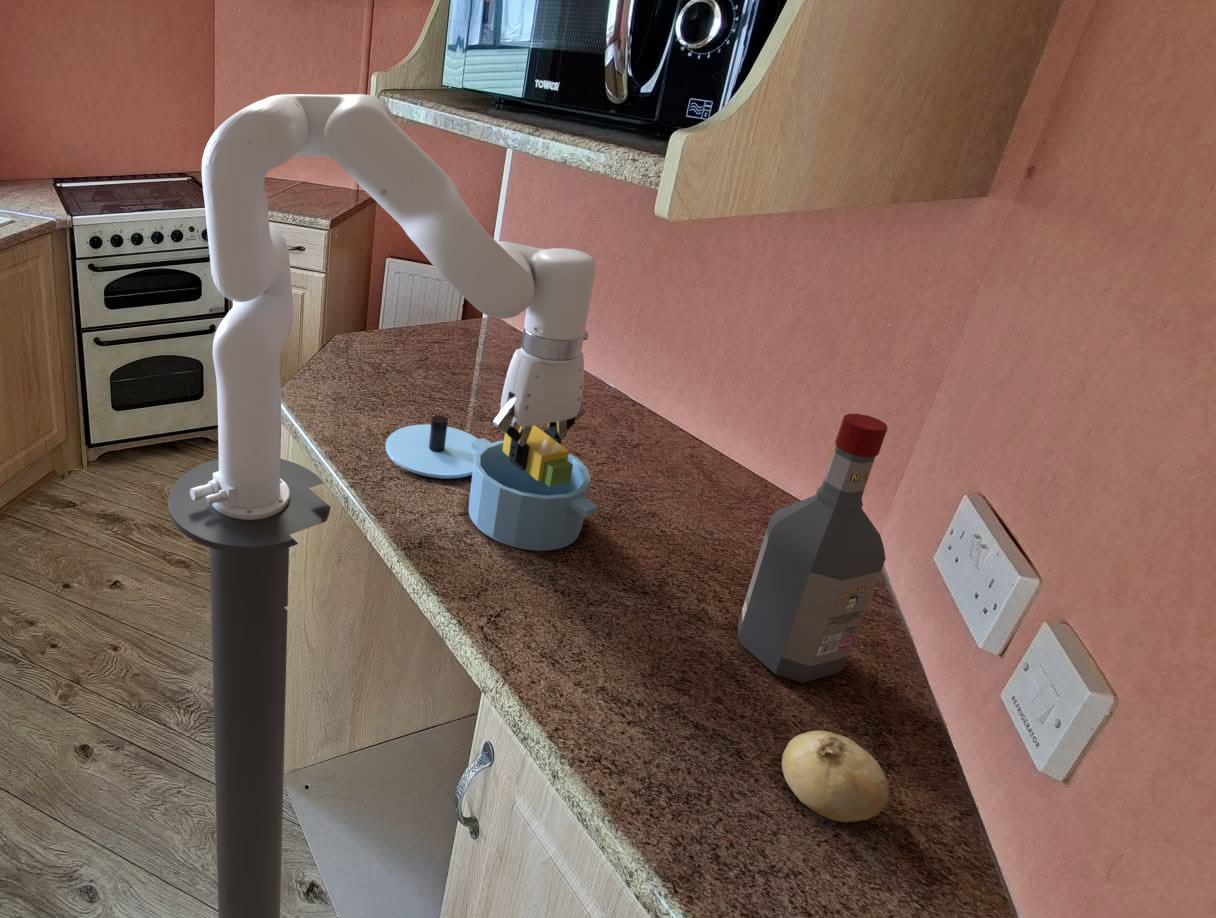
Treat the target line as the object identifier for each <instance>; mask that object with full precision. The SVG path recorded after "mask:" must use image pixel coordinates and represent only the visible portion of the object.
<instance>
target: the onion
mask: <svg viewBox="0 0 1216 918" xmlns="http://www.w3.org/2000/svg"><path fill="white" fill-rule="evenodd" d="M781 768H782V774H783V777H784V780H785V782H786V784H787V785H788V787H789V788H790V790H791V791H792V793H793V794H794V795H795V796H796V797H797V798H798V800H799V801H800V802H801V803H802V804H803V805H805V806H806V807H808V808H809V809H810V810H811V811H813V812H815V813H816V814H818V815H820V816H821V817H824V818H826V819H828V820H831V821H834V822H840V823H846V824H848V822H849V823H858V822H860V821H868V820H870V819H871V818H873V817H875V816H877V815H878V814H879V813H881V812H882V811H883V810H884V809H885V806H886V805H887V802H888V799H889V791H890V790H889V789H890V788H889V783H888V779H887V777H886V774H885V772H884V770H883V769H882V767H881V765H880V764H879V763H878V761H877V760H876V759H875V757H873V756H872V755H871V754H870V753H869V752H868V751H867V750H866V749H864V748H863V747H861V746H860V745H859V744H857V743H856V742H855V741H853V739H850V738H848V737H846V736H844V735H841V734H838V733H835V732H831V731H827V730H811V731H807V732H806V731H805V732H803V733H800V734H798V735H796V736H794V737H793V738H791V739H790V740H789V742H788V743H787V744H786V747H785V749H784V751H783V753H782V758H781Z"/></svg>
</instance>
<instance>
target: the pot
mask: <svg viewBox="0 0 1216 918" xmlns="http://www.w3.org/2000/svg"><path fill="white" fill-rule="evenodd" d="M478 439H479V440H476V441H473V442H472V445H471V447H472V448H473V449H475V450H476V451H478V452H477V453H476V454H475V459H474V467H473V474H472V475H471V484H470V491H469V498H468V514H469V518H470V520H471V521H472V523H473V524H474V525H475V527H476V528H477V529H478V530H479V531H481V533H483V534H485V535H486V536H488V537H489V538H491V539H492V540H495V541H497V542H499V543H501V544H503V545H506V546H509V547H512V548H516V549H522V550H527V551H534V552H535V551H536V552H537V551H539V552H543V551H544V552H547V551H556V550H559V549H563V548H565V547H567V546H569V545H571V544H573V543H574V542H576V540H577V539H578V538H579V535H580V533H581V531H582V529H583V524H584V519H585V518H588V517H590V516H592V515H594V514H597V513H598V512H599V507H600V506H599V505H598V504H596V503H595V502H593V501H591V500H590V499H589V494H590V490H591V485H592V479H591V478H592V477H591V473H590V470H589V468H588V467H587V466H586V465H585V464H584V463H583V461H581V460H580V459H579V457H576V456H574V455H573V454H571V453H569V455H568V461H569V462H570V463H572V464H573V468H572V473H571V479H570V483H569V484H565V485H560V486H555V487H549V486H548V485H546V484H545V483H544V482H543V481H537V480H536V479H535V478H533V477H532V476H531V475H530V474H529V473H528V472H526V471H525V470H522V471H521V470H520V469H519V468H517V467H516V466H515V465H514V464H513V463H511V462H510V460H509V457H508V456H507V455H506V454H505V453H504V452H503V444H504V440H497V441H494V442H491V441H489V440H488V439H486V438H484V437H482V438H478Z"/></svg>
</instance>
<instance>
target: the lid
mask: <svg viewBox="0 0 1216 918" xmlns="http://www.w3.org/2000/svg"><path fill="white" fill-rule="evenodd" d="M430 421H431V424H428V423H427V424H425V423H424V424H412V425H408V426H404V427H402V428H399V429H396V430H395V431H393V432H392V433H390V434H389V436H388V437H387V439H386V441H385V452H386V454H387V456H388V457H389V459H390V460H391V461H392V462H393V463H394V464H396V465H397V466H399V467H401V468H402V469H404V470H405V471H408V472H411V473H413V474H416V475H419V476H424V477H429V478H433V479H434V478H435V479H461V478H466V477H470V476H472V474H473V467H474V459H475V454H476V453H477V452H478V451H476V450H475V449H473V448H472V447H471V445H472V442H473V441H476V440H479V439H480V438H477V437H476V436H475V435H472V434H470V433H469V432H467V431H465V430H461V429H460V428H459V429H458V428H455V427H451V426H448V424H449V419H448V418H447V417H446V416H445V415H437V414H435V415H433V416H432V417H431V420H430Z"/></svg>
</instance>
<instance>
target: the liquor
mask: <svg viewBox="0 0 1216 918" xmlns="http://www.w3.org/2000/svg"><path fill="white" fill-rule="evenodd" d="M887 432H888V425H887V423H885V422H884V421H883V420H881V419H879V418H876V417H873V416H870V415H866V414H860V413H848V414H845V415H844V416H843V418H842V420H841V423H840V426H839V429H838V432H837V435H836V437H835V441H834V443H835V447H834V451H833V453H832V456H831V459H830V462H829V465H828V467H827V470H826V473H825V476H824V479H823V481H822V484H821V485H820V486H819V488H817V489H816V492H815V494H814V495H812V496H809V497H807V498H804V499H802V500H799V501H797V502H794V503H791V504H789V505H787V506H784V507H782V508H780V509H777V510H776V511H775V512H774V513H773V514H772V515H771V516H770V518H769V521H768V525H767V527H766V530H765V534H764V537H763V541H762V544H761V546H760V547H761V548H760V549H759V553H758V557H757V560H756V563H755V567H754V570H753V573H752V576H751V579H750V582H749V586H748V588H747V592H746V596H745V599H744V601H743V606H742V608H741V612H740V615H739V618H738V622H737V638H738V640H739V644H740V645H741V646H742V647H743V648H744V649H745V650H747V651H748V652H749V653H750V654H752V656H753V657H755V658H756V659H757V660H758V661H759V662H760V663H762V664H763V665H764V666H765V667H766V668H767V669H768V670H769V671H771V672H772V673H773V674H774V675H776V676H779V677H782V678H785V679H788V680H792V681H794V682H797V683H800V684H804V683H807V682H810V681H814V680H817V679H821V678H826V677H830V676H833V675H836V674H838V673H840V672H841V671H843V670H844V669H845V666H846V664H847V661H848V658H849V655H850V653H851V651H852V648H853V645H854V643H855V640H856V637H857V634H858V632H859V629H860V627H861V624H862V622H863V619H864V616H865V614H866V612H867V609H868V606H869V603H870V601H871V598H872V596H873V594H874V590H875V588H876V585H877V582H878V580H879V577H880V575H881V572H882V569H883V567H884V564H885V563H886V551H885V547H884V542H883V539H882V536H881V533H880V532H879V531H878V529H877V527H875V525H874V523H873V522H872V521H871V519H870V518H869V517H868V515H867V514H866V512H865V511H864V509H863V506H864V504H863V499H862V498H863V495H864V493H865V489H866V486H867V483H868V481H869V477H870V474H871V472H872V469H873V465H874V463H875V459H876V457H877V456H879V455H880V452H881V449H882V447H883V443H884V440H885V437H886V434H887Z"/></svg>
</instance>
